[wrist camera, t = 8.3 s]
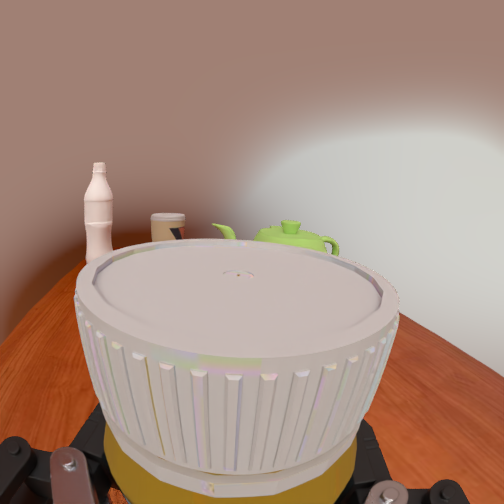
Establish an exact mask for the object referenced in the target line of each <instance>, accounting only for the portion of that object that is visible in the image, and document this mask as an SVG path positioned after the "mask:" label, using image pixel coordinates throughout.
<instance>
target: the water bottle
mask: <svg viewBox="0 0 504 504" xmlns="http://www.w3.org/2000/svg"><path fill="white" fill-rule="evenodd" d="M93 167H94V169H93V172H92V174H93V177H92V180H91V183H90V185H89V187H88V189H87V191H86V193H85V196H84V213H85V214H84V220H85V222H84V223H85V228H86V234H87V252H86V262H87V264H88V263H90V262H91V261H93V260H94V259H96V258H98V257H100V256H102V255H104V254H107V253H109V252H112V251H113V249H112V244H111V227H112V222H113V220H112V208H113V206H112V205H113V202H112V201H113V195H112V192H111V189H110V187H109V185H108V183H107V180H106V163H94V166H93Z"/></svg>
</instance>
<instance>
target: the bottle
mask: <svg viewBox="0 0 504 504" xmlns="http://www.w3.org/2000/svg"><path fill="white" fill-rule="evenodd" d="M74 302H75V310H76V316H77V321H78V326H79V331H80V336H81V341H82V345H83V350H84V354H85V358H86V362H87V366H88V369H89V373H90V377H91V380H92V384H93V387H94V390H95V393H96V396H97V397H98V398H99V403H100V406H101V408H102V411H103V414H104V417H105V420H106V426H105V434H104V451H105V455H106V458H107V461H108V464H109V467H110V470H111V473H112V475H113V477H114V479H115V481H116V484H117V486H118V488H119V489H120V491H121V493H122V494H123V496H124V497H125V499H126V500H127V502H128V503H129V504H334V503H335V502H336V501H337V499H338V498H339V496H340V495H341V493H342V492H343V490H344V489H345V486H346V485H347V483H348V481H349V480H350V478H351V476H352V473H353V471H354V466H355V459H356V451H357V439H356V433H357V431H358V429H359V426H360V423H361V420H362V419H363V417H364V415H365V413H366V412H367V411H368V409H369V407H370V405H371V402H372V400H373V397H374V395H375V392H376V390H377V387H378V385H379V382H380V379H381V377H382V374H383V371H384V368H385V366H386V363H387V360H388V357H389V354H390V351H391V348H392V344H393V341H394V338H395V334H396V331H397V328H398V323H399V319H400V316H399V309H398V308H399V296H398V294H397V291H396V290H395V288H394V287H393V286H392V285H391V283H390V282H389V281H388V280H386V279H385V278H384V277H383V276H381V275H380V274H378V273H377V272H375V271H373V270H371V269H369V268H367V267H365V266H363V265H361V264H358V263H356V262H353V261H351V260H348V259H345V258H342V257H339V256H335V255H332V254H328V253H325V252H320V251H316V250H312V249H307V248H302V247H296V246H290V245H284V244H277V243H269V242H260V241H249V240H233V239H185V240H184V239H183V240H169V241H159V242H151V243H145V244H139V245H134V246H129V247H125V248H122V249H118V250H115V251H112V252H109V253H107V254H104V255H102V256H100V257H98V258H96V259H94V260H93V261H91V262H90V263H88V264H87V265H86V266H85V267H84V268H83V269H82V270H81V272H80V273H79V275H78V277H77V281H76V289H75V296H74Z"/></svg>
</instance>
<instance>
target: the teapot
mask: <svg viewBox="0 0 504 504" xmlns="http://www.w3.org/2000/svg"><path fill="white" fill-rule="evenodd" d="M281 224H282V227H281V226H270V228H263V229H260V230H259V232H258V233H257V235H256V237H255V238H254V240H253V241H260V242H269V243H277V244H284V245H290V246H296V247H302V248H307V249H312V250H316V251H320V252H325V253H327V250H326V247H325V244H324V242H328V243H330V244H332V253H331V254H332V255H335V256H338V255H339V246H338V244H337V242H336V241H335V240H334V239H332V238H330V237H327V236H322V237H320V236H319V235H317V234H315V233H312V232H308V231H304V230H298V229H299V227H300V225H301V223H300V222H298V221H291V220H283V221H281ZM212 225H213V226H215V227H216V228H218V229H219V230H220V231H221V233H222V234H223V236H224V238H225V239H233V240H236V236H235V233H234V231H233V230H232V229H231V228H230V227H227V226H223V225H218V224H212Z"/></svg>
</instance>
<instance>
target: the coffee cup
mask: <svg viewBox="0 0 504 504" xmlns="http://www.w3.org/2000/svg"><path fill="white" fill-rule="evenodd" d="M185 220H186V219H185V215H184V214H178V213H157V214H152V217H151V229H152V242H159V241H169V240H183V239H184V226H185Z"/></svg>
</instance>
